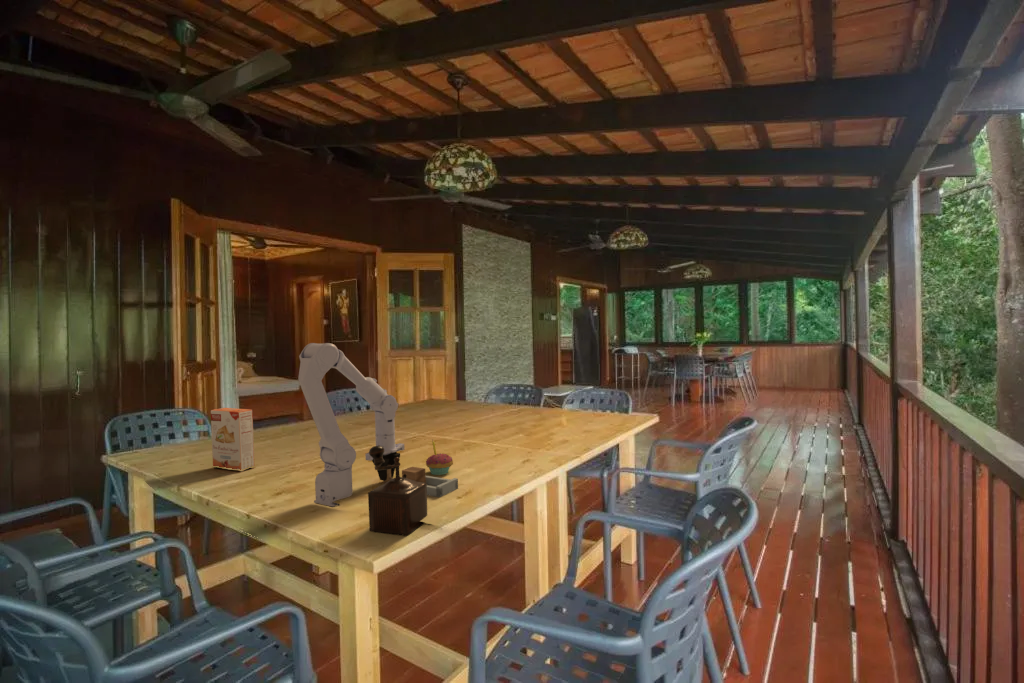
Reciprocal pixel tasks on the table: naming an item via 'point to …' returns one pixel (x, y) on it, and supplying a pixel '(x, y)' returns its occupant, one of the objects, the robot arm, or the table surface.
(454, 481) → the lane shelf
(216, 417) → the cracker box
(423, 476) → the block
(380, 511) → the manual coffee grinder
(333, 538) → the table surface
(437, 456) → the cupcake
